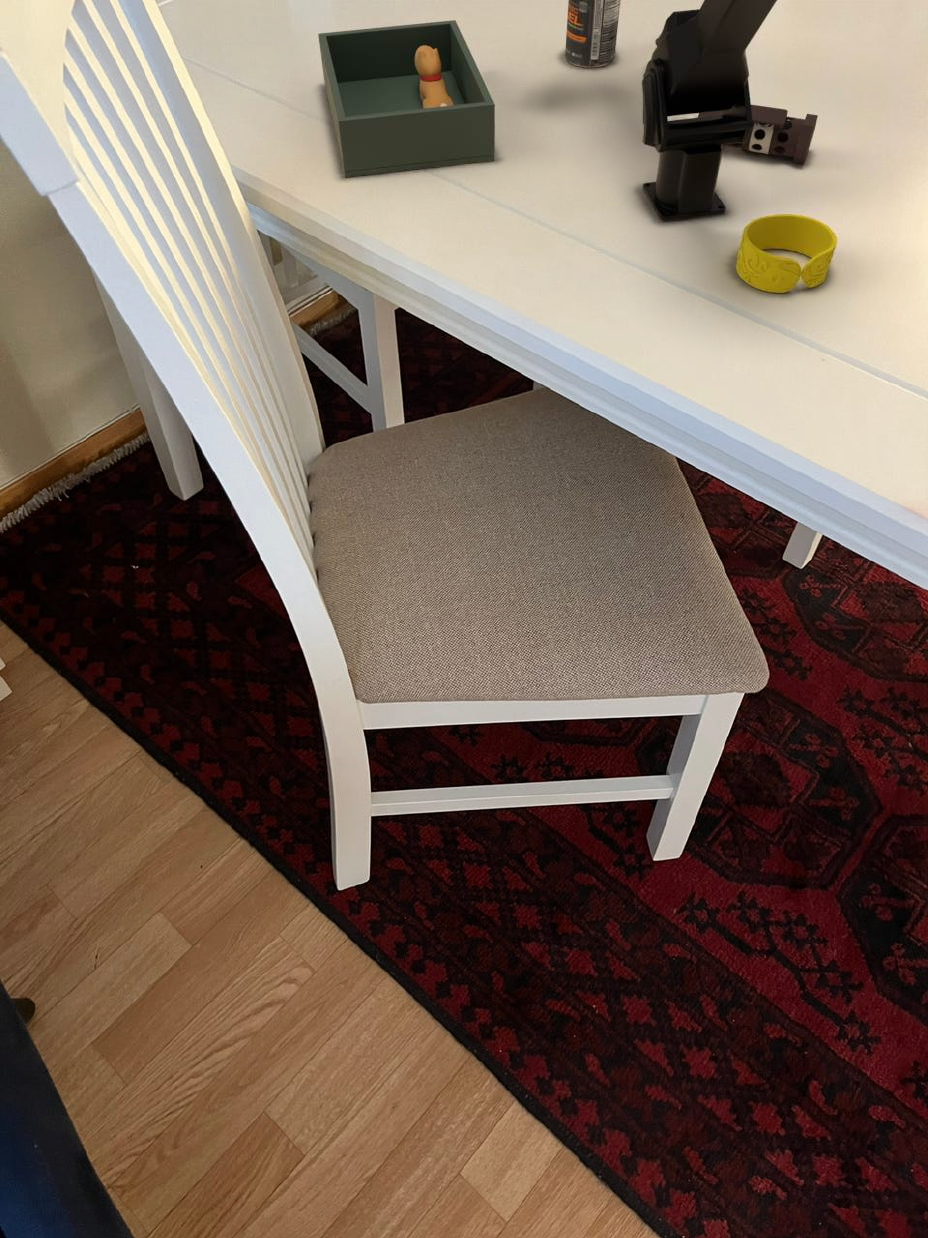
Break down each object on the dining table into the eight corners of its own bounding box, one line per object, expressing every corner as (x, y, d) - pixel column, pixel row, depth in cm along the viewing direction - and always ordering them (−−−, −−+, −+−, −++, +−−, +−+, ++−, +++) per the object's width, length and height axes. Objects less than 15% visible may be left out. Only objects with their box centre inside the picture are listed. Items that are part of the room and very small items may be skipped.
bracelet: (720, 255, 85) (728, 221, 83) (800, 241, 87) (809, 206, 84) (758, 299, 81) (767, 264, 78) (841, 283, 82) (852, 248, 80)
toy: (438, 76, 108) (434, 28, 104) (467, 146, 98) (465, 96, 94) (409, 80, 108) (405, 33, 104) (436, 151, 97) (432, 100, 93)
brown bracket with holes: (801, 173, 96) (808, 143, 91) (692, 155, 99) (693, 124, 94) (813, 134, 97) (820, 102, 91) (704, 117, 99) (705, 85, 94)
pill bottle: (556, 52, 113) (562, -59, 104) (601, 44, 114) (610, -67, 105) (577, 72, 110) (585, -41, 101) (623, 63, 111) (635, -49, 102)
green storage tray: (494, 160, 97) (494, 104, 93) (345, 177, 96) (338, 120, 91) (456, 72, 110) (455, 19, 106) (324, 86, 109) (318, 33, 104)
